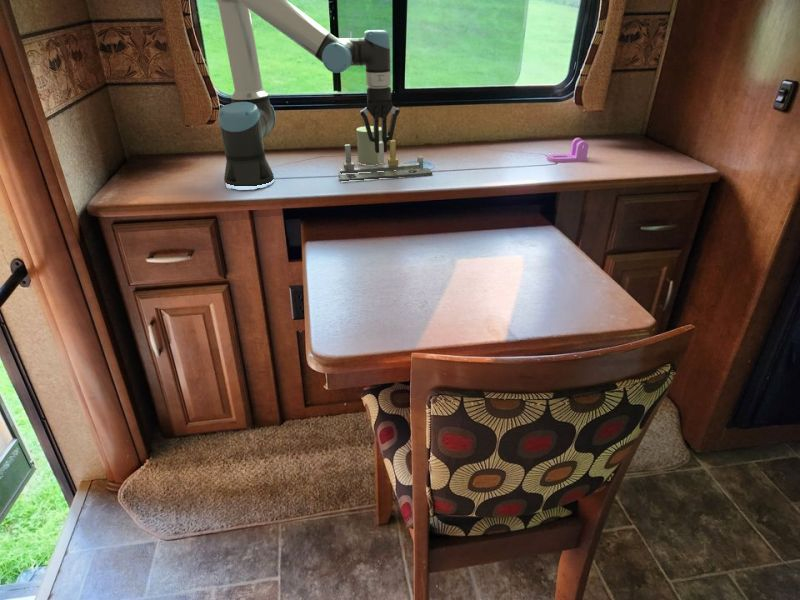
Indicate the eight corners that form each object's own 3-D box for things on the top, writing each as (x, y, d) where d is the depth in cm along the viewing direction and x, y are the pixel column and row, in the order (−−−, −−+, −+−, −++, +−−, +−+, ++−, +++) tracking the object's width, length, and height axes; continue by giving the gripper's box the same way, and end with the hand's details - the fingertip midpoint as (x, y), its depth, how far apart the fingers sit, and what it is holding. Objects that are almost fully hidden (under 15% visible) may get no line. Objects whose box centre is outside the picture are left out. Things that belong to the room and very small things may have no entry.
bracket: (579, 157, 186) (582, 137, 182) (585, 161, 181) (589, 141, 178) (544, 158, 185) (546, 139, 181) (549, 163, 180) (552, 142, 177)
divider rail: (340, 175, 170) (338, 146, 165) (339, 172, 173) (337, 144, 168) (423, 168, 175) (423, 140, 171) (420, 166, 178) (421, 138, 173)
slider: (389, 166, 172) (389, 142, 168) (387, 164, 175) (387, 140, 171) (398, 165, 173) (398, 141, 169) (396, 163, 175) (396, 139, 171)
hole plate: (340, 182, 164) (340, 179, 163) (338, 178, 168) (338, 174, 167) (432, 175, 169) (432, 172, 169) (428, 170, 173) (428, 167, 173)
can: (372, 167, 178) (371, 131, 171) (352, 163, 182) (350, 128, 176) (389, 161, 184) (388, 126, 178) (369, 157, 189) (367, 123, 183)
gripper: (359, 89, 156) (363, 166, 168) (401, 87, 158) (402, 163, 170) (356, 85, 162) (360, 160, 174) (396, 83, 165) (397, 157, 177)
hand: (381, 162), depth 172 cm, fingers closed
